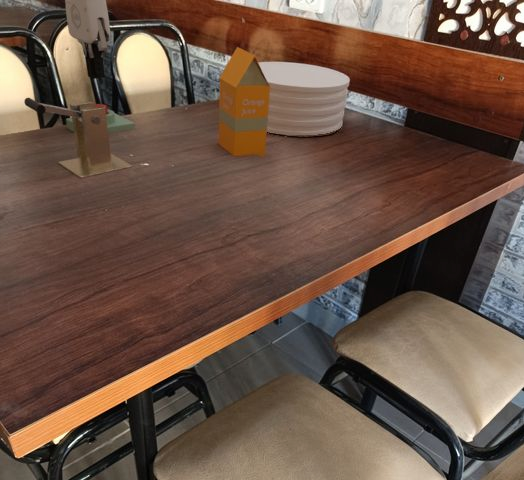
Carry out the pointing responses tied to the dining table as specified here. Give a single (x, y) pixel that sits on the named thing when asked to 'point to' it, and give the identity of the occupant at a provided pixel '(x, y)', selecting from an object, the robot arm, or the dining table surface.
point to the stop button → (102, 106)
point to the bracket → (92, 143)
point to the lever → (52, 109)
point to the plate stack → (304, 98)
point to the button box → (110, 123)
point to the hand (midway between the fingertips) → (96, 77)
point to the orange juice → (243, 106)
